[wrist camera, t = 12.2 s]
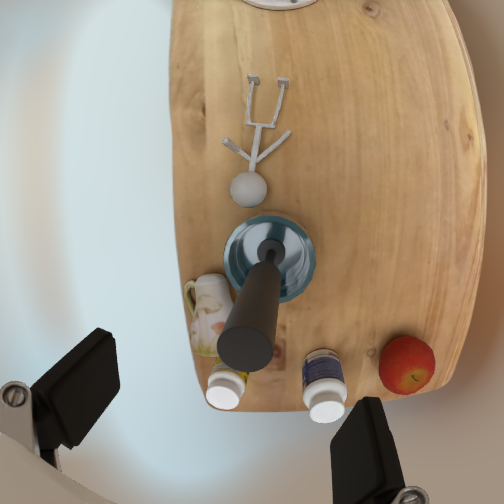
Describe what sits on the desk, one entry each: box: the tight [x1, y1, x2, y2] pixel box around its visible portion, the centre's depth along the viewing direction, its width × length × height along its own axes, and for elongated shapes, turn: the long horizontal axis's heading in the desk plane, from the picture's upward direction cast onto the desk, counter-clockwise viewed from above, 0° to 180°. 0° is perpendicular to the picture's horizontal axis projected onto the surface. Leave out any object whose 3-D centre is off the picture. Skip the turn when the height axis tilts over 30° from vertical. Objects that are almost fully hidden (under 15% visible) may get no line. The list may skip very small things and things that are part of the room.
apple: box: [379, 336, 435, 395], centre depth 29 cm, size 8×8×8 cm
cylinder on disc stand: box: [216, 238, 285, 372], centre depth 22 cm, size 3×3×20 cm
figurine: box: [222, 74, 291, 208], centre depth 27 cm, size 6×6×15 cm
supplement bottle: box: [206, 356, 249, 409], centre depth 33 cm, size 5×5×8 cm
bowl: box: [223, 211, 316, 303], centre depth 30 cm, size 9×9×5 cm
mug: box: [184, 273, 234, 357], centre depth 32 cm, size 8×10×10 cm
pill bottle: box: [302, 349, 347, 423], centre depth 30 cm, size 5×5×10 cm
